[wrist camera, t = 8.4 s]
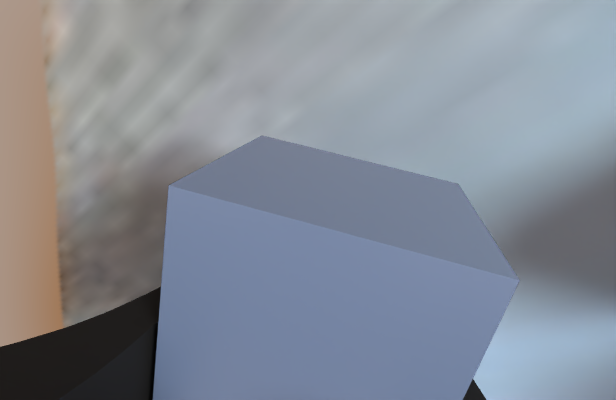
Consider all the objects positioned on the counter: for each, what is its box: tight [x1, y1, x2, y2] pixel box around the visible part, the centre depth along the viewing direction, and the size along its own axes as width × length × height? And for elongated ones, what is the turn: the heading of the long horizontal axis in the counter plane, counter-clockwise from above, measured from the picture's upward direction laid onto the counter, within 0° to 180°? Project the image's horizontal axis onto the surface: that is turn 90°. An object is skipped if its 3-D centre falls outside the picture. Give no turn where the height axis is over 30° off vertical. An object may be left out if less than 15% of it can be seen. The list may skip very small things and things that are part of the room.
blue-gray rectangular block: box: [153, 136, 520, 400], centre depth 10 cm, size 9×6×5 cm
